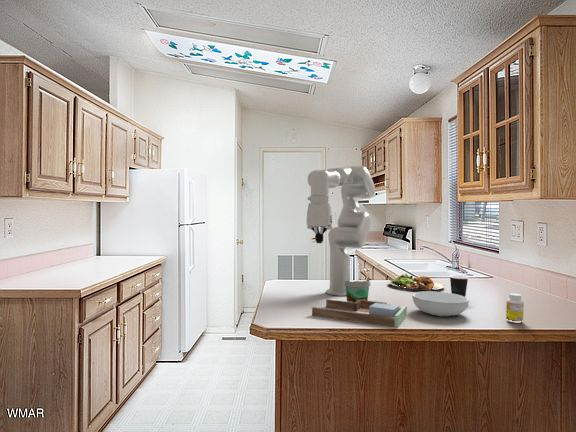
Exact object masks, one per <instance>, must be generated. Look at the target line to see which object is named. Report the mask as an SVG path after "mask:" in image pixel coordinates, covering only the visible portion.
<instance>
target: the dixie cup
mask: <svg viewBox="0 0 576 432" xmlns="http://www.w3.org/2000/svg"><path fill="white" fill-rule="evenodd" d="M449 279H450V293H452V294H457V295H461V296H464V297H466V294H467V287H468V280H469V277H468V276H466V275H459V274H456V275H455V274H453V275H449Z"/></svg>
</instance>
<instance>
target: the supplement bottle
mask: <svg viewBox="0 0 576 432" xmlns="http://www.w3.org/2000/svg"><path fill="white" fill-rule="evenodd" d="M524 306H525V304H524V300H522V294H520V293H509V294H508V298H507V299H506V313H505V317H506V318H505V319H508V320H512V321H522V320H523V321H524V311H525V309H524Z"/></svg>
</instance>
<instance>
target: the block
mask: <svg viewBox="0 0 576 432" xmlns="http://www.w3.org/2000/svg"><path fill="white" fill-rule="evenodd" d="M399 308H400V306H399V305H395V304H381V303H374V304H373V305H371V306H369V312H368V314H372V315H380V316H388V317H395V315H396V314H397V312H398V311H399Z"/></svg>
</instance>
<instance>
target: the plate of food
mask: <svg viewBox="0 0 576 432" xmlns="http://www.w3.org/2000/svg"><path fill="white" fill-rule="evenodd" d="M388 283H389V285H392V286H394V287H398V288H400V287H402V288H401V289H404V287H406V288H407V289H409V290H411V289H412V290H415V291H416V290H418V291H433V290H434V291H435V290H440V289H441V290H442V289H444V288H445V284H444V283H442V282H439V281H435V280H433V279H432V278H431V277H429V276H426V275H421V276H415V277H414V276H413V275H410V276H409V275H408V274H407V273H405V274H403V273H402V274H401V275H399V276H398V277H397V278H394V279H389V281H388ZM399 285H400V287H399ZM433 286H436V287H437V289H436V288H434V287H433ZM432 288H433V290H431V289H432ZM419 289H420V290H419Z"/></svg>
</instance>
